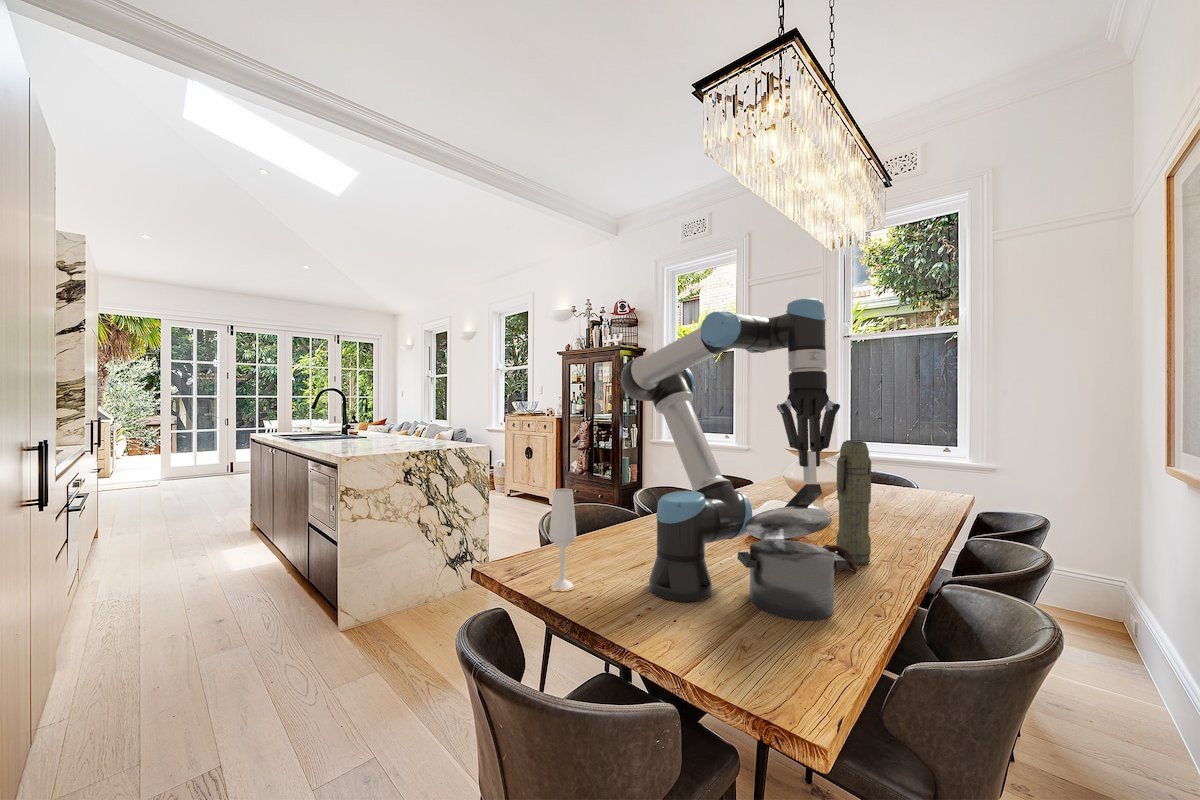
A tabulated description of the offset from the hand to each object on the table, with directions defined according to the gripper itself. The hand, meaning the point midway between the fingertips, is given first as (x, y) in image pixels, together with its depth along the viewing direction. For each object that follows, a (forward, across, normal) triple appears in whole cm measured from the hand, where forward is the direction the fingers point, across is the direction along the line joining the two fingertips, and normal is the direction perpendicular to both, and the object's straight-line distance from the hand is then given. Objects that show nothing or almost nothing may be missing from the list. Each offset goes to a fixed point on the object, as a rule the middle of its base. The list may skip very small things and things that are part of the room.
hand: (810, 482), depth 102 cm
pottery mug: (+28, +21, +31) cm, 47 cm away
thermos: (+28, +31, +41) cm, 58 cm away
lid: (+10, 0, +8) cm, 13 cm away
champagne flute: (+28, -53, +20) cm, 64 cm away
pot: (+29, 0, +12) cm, 31 cm away
